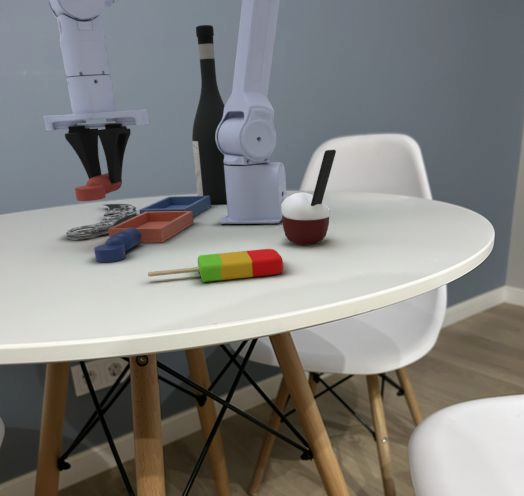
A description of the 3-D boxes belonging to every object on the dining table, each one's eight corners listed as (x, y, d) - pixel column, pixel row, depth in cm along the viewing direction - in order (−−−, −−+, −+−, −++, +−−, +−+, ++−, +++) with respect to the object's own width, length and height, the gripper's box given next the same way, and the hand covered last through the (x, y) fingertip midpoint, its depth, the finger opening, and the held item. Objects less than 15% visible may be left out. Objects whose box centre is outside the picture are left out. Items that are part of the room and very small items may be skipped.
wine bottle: (192, 205, 110) (173, 25, 98) (207, 198, 117) (191, 29, 105) (232, 205, 108) (218, 21, 96) (244, 197, 115) (233, 25, 103)
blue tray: (210, 206, 108) (209, 195, 107) (186, 221, 96) (184, 209, 95) (169, 207, 110) (168, 196, 109) (140, 221, 98) (138, 209, 97)
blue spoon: (125, 243, 83) (122, 225, 82) (149, 243, 82) (147, 225, 81) (90, 262, 74) (87, 242, 73) (117, 262, 73) (114, 242, 72)
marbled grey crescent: (100, 201, 113) (151, 195, 112) (102, 209, 113) (153, 203, 113) (53, 235, 87) (118, 227, 86) (55, 245, 87) (120, 237, 87)
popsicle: (285, 274, 64) (284, 258, 64) (148, 289, 62) (146, 272, 61) (276, 262, 69) (275, 246, 69) (149, 275, 67) (146, 259, 66)
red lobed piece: (106, 189, 86) (103, 171, 85) (130, 188, 85) (127, 170, 84) (71, 201, 77) (67, 181, 76) (97, 201, 76) (93, 180, 75)
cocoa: (277, 237, 81) (273, 147, 76) (321, 233, 82) (319, 144, 77) (291, 254, 72) (288, 153, 68) (340, 249, 73) (340, 149, 68)
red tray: (193, 223, 94) (192, 210, 93) (162, 242, 82) (160, 228, 82) (147, 223, 96) (145, 211, 95) (110, 242, 84) (107, 229, 84)
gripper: (22, 80, 75) (44, 188, 80) (125, 72, 71) (141, 185, 77) (52, 80, 81) (71, 181, 86) (148, 73, 78) (162, 178, 83)
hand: (106, 182), depth 82 cm, fingers closed on red lobed piece, 2 cm apart
